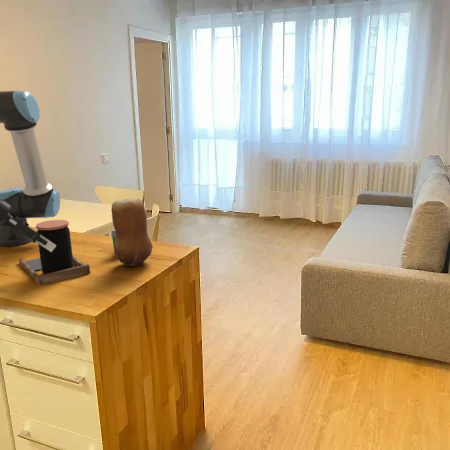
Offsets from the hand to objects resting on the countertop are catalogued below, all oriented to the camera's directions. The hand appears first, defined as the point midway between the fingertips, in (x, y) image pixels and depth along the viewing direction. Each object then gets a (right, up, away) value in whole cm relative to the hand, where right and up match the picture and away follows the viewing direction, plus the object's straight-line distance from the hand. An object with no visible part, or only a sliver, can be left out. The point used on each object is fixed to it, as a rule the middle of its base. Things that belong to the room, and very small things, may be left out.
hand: (47, 243), depth 153 cm
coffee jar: (+2, -11, +5) cm, 12 cm away
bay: (-2, -9, +10) cm, 14 cm away
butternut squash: (+28, -8, +11) cm, 31 cm away
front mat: (-6, -8, +15) cm, 18 cm away
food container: (+21, -4, +27) cm, 34 cm away
